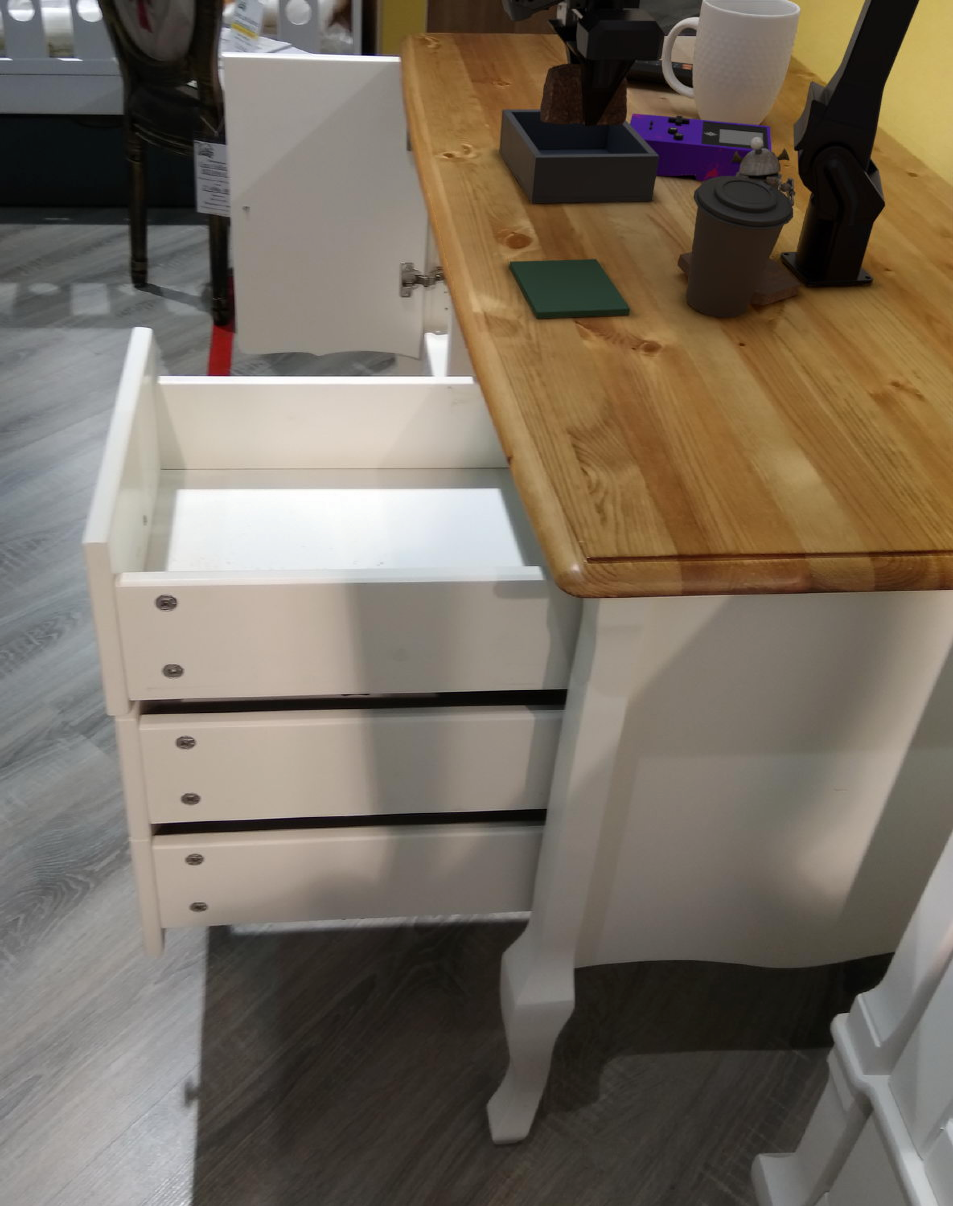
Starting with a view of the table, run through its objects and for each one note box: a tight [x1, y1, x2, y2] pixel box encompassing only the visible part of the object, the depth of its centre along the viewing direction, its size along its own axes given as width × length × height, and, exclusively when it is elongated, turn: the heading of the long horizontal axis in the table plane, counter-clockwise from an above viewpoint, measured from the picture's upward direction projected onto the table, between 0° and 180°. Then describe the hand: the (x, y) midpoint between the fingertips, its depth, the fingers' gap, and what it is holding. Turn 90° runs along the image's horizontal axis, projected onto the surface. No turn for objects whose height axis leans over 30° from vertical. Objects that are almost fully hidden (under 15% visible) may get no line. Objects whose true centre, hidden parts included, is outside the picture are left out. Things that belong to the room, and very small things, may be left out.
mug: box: [661, 0, 802, 125], centre depth 135 cm, size 15×11×13 cm
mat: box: [508, 258, 631, 320], centre depth 100 cm, size 10×8×1 cm
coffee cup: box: [685, 176, 794, 319], centre depth 96 cm, size 8×8×10 cm
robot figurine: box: [676, 137, 801, 306], centre depth 99 cm, size 11×9×12 cm
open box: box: [498, 108, 659, 204], centre depth 120 cm, size 15×13×4 cm
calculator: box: [625, 59, 693, 88], centre depth 150 cm, size 9×12×3 cm
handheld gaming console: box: [629, 113, 773, 183], centre depth 126 cm, size 9×5×15 cm
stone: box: [539, 62, 628, 125], centre depth 101 cm, size 8×3×5 cm, turn 98°
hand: (584, 119), depth 102 cm, fingers closed on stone, 3 cm apart
